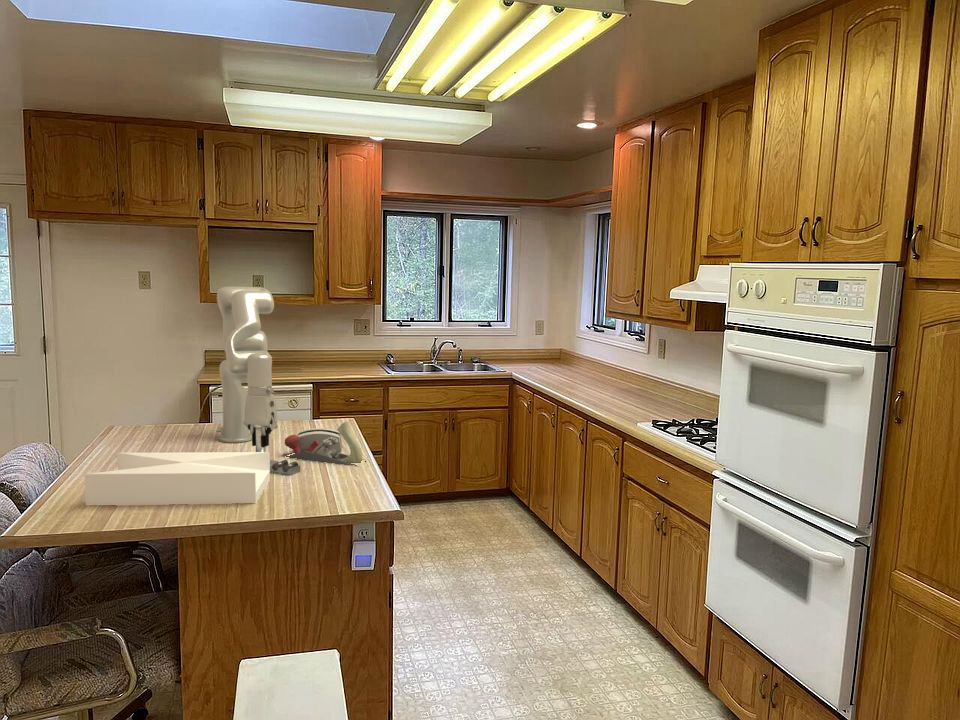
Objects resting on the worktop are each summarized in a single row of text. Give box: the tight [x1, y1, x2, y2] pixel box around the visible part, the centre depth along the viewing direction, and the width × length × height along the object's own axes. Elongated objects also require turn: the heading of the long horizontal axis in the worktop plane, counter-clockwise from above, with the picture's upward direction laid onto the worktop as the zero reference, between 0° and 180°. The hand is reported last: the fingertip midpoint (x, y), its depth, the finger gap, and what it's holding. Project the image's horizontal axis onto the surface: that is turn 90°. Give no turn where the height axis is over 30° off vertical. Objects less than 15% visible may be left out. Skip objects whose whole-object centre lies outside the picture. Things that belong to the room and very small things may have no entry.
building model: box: [84, 451, 271, 506], centre depth 198 cm, size 45×22×10 cm, turn 97°
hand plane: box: [283, 420, 364, 467], centre depth 237 cm, size 7×31×15 cm, turn 73°
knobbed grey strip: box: [270, 459, 301, 476], centre depth 226 cm, size 32×7×3 cm, turn 68°
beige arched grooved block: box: [297, 427, 343, 453], centre depth 248 cm, size 17×5×10 cm, turn 99°
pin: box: [254, 425, 266, 452], centre depth 224 cm, size 4×4×11 cm
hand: (260, 445), depth 224 cm, fingers closed on pin, 3 cm apart
